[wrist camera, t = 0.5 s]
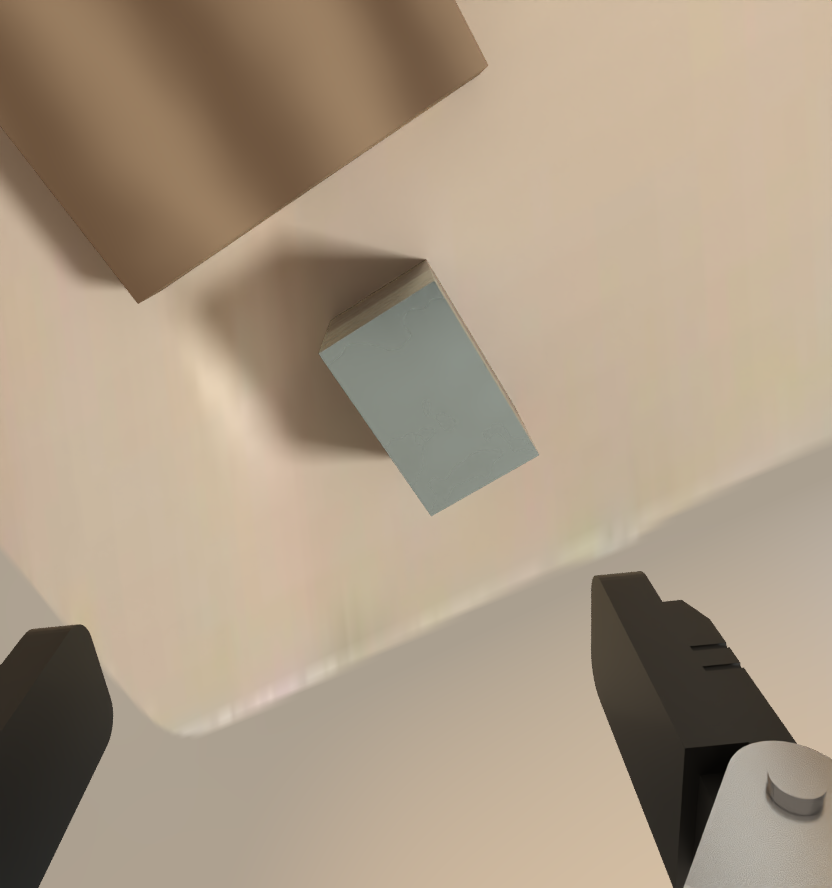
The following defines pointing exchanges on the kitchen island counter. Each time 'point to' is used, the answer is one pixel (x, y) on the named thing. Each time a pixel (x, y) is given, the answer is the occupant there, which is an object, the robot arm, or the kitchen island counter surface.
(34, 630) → the robot arm
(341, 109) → the walnut stand
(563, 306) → the kitchen island counter surface
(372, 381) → the block
